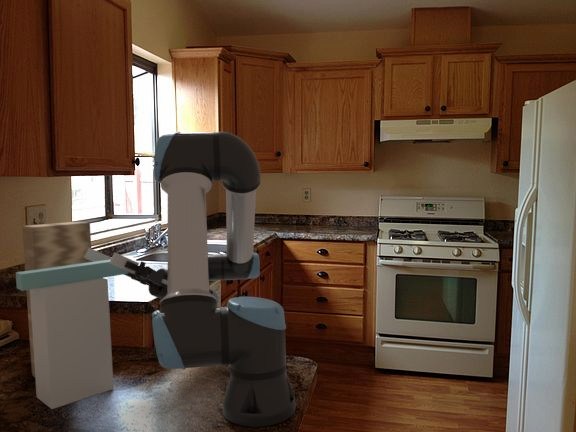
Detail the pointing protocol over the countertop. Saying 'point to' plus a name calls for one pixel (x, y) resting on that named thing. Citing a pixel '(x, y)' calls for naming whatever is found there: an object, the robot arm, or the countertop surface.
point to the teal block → (66, 274)
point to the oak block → (53, 252)
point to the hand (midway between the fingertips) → (98, 255)
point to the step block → (71, 341)
